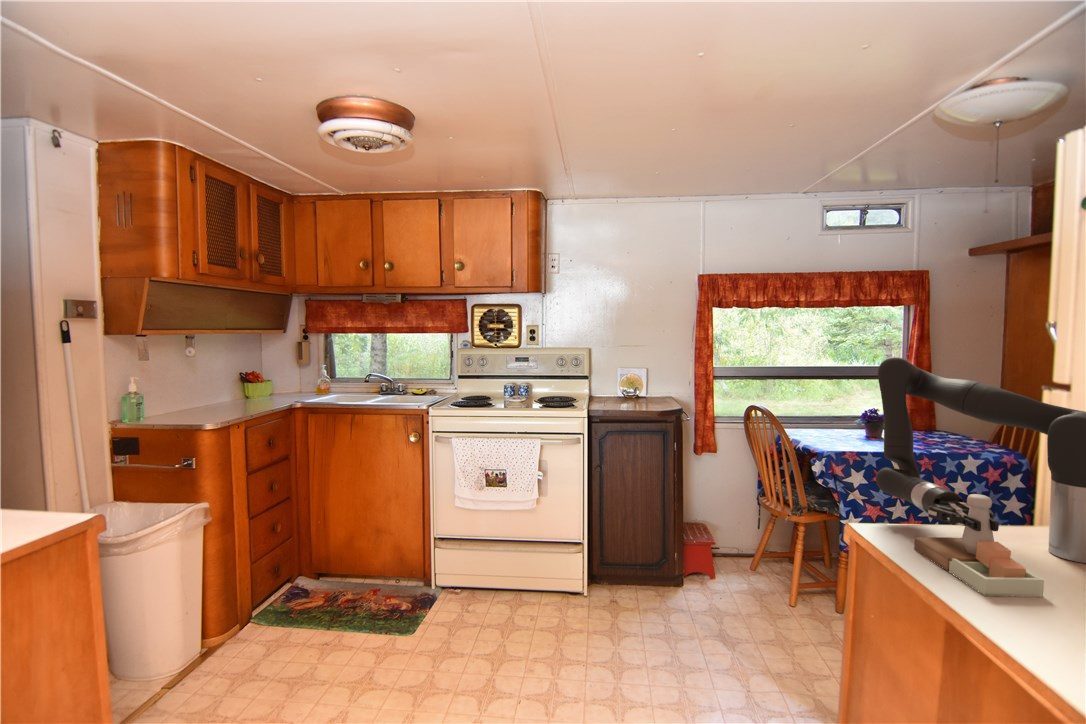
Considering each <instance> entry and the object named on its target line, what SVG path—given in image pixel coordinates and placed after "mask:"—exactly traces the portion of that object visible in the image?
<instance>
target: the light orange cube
mask: <svg viewBox="0 0 1086 724" xmlns="http://www.w3.org/2000/svg"><path fill="white" fill-rule="evenodd" d="M1011 554H1012V550H1010V548H1008V547H1006V546H1004V545H1003V544H1002V543H1000V542H999V541H994V542H992V541H977V551H976V559H977V560H979V561H980V562H981V563H983V564H984V565H985V566H987V567H988V568H990V560H991V558H1010V559H1011V557H1012V556H1011Z"/></svg>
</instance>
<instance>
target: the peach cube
mask: <svg viewBox="0 0 1086 724" xmlns="http://www.w3.org/2000/svg"><path fill="white" fill-rule="evenodd" d="M1026 570H1027V568H1025V567H1024V566H1023V565H1021V564H1020V563H1019V562H1017V561H1016V560H1014V559H1012V558H1011V557H1010V558H991V560H990V569H989V576H990V577H1004V578H1025V573H1026Z"/></svg>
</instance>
